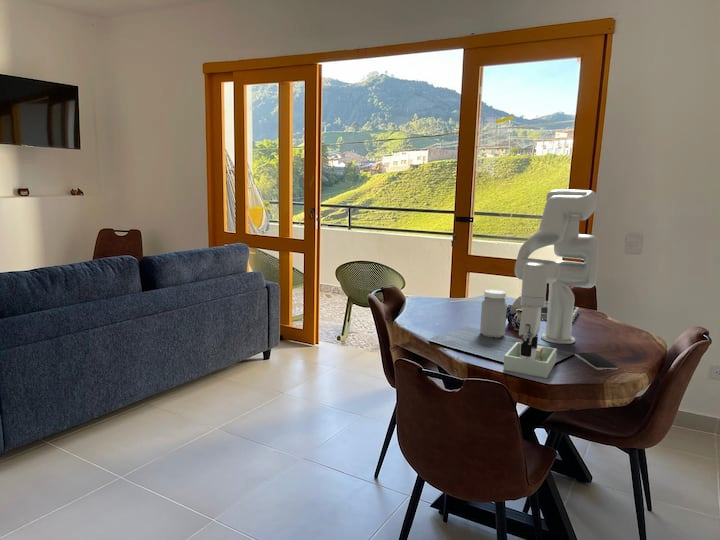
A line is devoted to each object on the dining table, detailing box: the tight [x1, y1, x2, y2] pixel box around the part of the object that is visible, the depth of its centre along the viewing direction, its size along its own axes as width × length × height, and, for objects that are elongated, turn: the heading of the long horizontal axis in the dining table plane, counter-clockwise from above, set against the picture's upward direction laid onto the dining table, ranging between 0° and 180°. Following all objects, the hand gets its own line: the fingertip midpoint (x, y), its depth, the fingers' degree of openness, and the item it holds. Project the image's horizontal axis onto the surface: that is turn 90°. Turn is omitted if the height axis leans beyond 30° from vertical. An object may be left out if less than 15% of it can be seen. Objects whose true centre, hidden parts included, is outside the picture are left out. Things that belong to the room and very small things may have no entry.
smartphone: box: [574, 352, 619, 371], centre depth 182 cm, size 8×1×15 cm
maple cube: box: [536, 345, 543, 361], centre depth 179 cm, size 5×5×5 cm
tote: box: [503, 341, 558, 379], centre depth 176 cm, size 18×14×5 cm
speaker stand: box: [541, 306, 580, 323], centre depth 246 cm, size 23×23×3 cm
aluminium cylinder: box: [520, 347, 536, 360], centre depth 172 cm, size 5×5×7 cm
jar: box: [479, 288, 508, 339], centre depth 210 cm, size 10×10×18 cm
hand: (528, 351), depth 171 cm, fingers open, 9 cm apart
